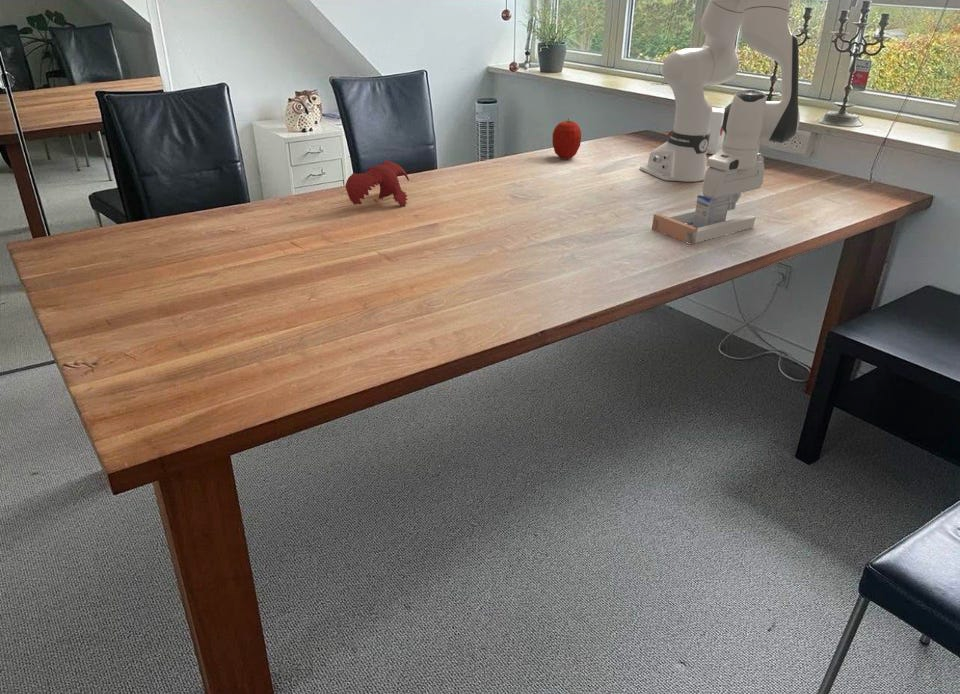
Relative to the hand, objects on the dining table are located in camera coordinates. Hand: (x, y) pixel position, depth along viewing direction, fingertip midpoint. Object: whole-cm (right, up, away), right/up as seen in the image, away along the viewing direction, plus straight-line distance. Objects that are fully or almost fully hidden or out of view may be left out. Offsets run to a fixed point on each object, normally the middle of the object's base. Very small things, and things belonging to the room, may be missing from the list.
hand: (729, 209), depth 188 cm
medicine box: (-6, -5, 0) cm, 7 cm away
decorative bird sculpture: (-93, +4, +13) cm, 95 cm away
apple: (-36, +30, +61) cm, 77 cm away
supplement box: (+18, +36, +73) cm, 83 cm away
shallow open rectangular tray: (-8, -5, -2) cm, 10 cm away
